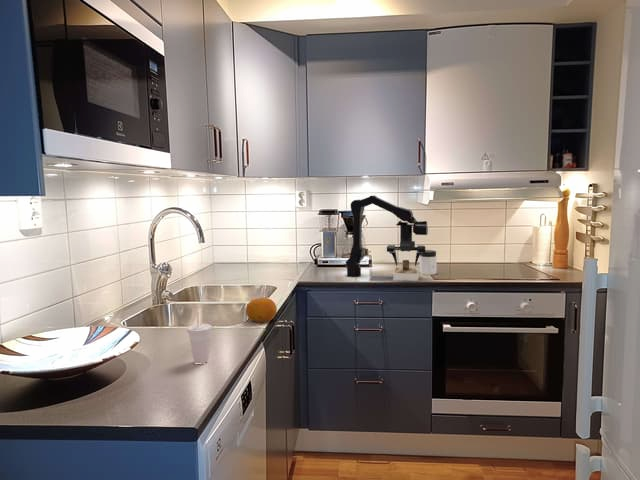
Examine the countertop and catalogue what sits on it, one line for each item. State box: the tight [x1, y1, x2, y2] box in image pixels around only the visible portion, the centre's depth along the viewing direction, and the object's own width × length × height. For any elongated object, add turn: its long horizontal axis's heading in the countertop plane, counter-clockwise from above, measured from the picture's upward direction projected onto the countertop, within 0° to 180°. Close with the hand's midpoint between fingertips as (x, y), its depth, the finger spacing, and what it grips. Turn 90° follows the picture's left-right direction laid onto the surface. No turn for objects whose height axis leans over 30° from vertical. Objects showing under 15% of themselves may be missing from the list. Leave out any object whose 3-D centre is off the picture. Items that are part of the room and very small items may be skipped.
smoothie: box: [186, 311, 213, 364], centre depth 121 cm, size 6×6×14 cm
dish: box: [392, 268, 419, 282], centre depth 227 cm, size 12×12×4 cm
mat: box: [369, 275, 393, 282], centre depth 228 cm, size 11×11×1 cm
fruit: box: [245, 297, 278, 323], centre depth 159 cm, size 10×10×8 cm
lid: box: [394, 259, 418, 274], centre depth 226 cm, size 10×10×6 cm
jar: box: [419, 249, 438, 276], centre depth 240 cm, size 9×8×12 cm
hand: (405, 265), depth 226 cm, fingers open, 9 cm apart
